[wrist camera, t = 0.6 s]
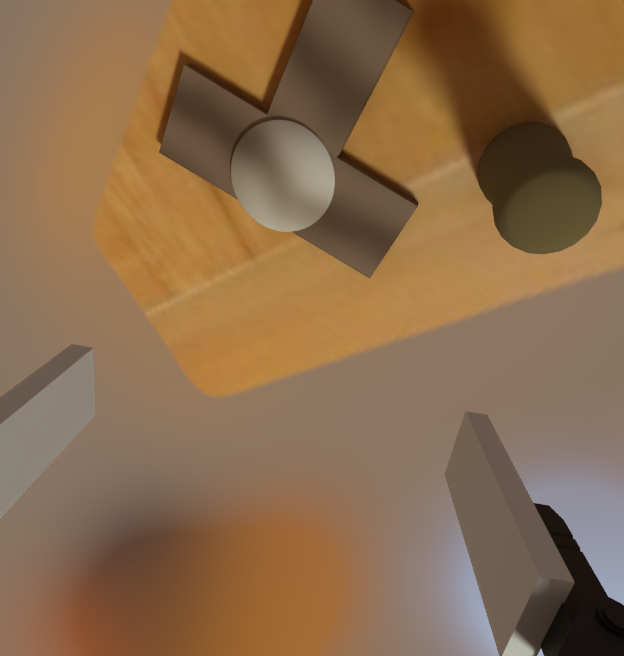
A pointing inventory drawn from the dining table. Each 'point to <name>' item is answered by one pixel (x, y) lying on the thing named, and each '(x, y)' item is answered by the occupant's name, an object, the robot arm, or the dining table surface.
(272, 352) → the dining table surface
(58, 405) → the robot arm
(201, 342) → the dining table surface
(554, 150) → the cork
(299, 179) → the walnut T board
